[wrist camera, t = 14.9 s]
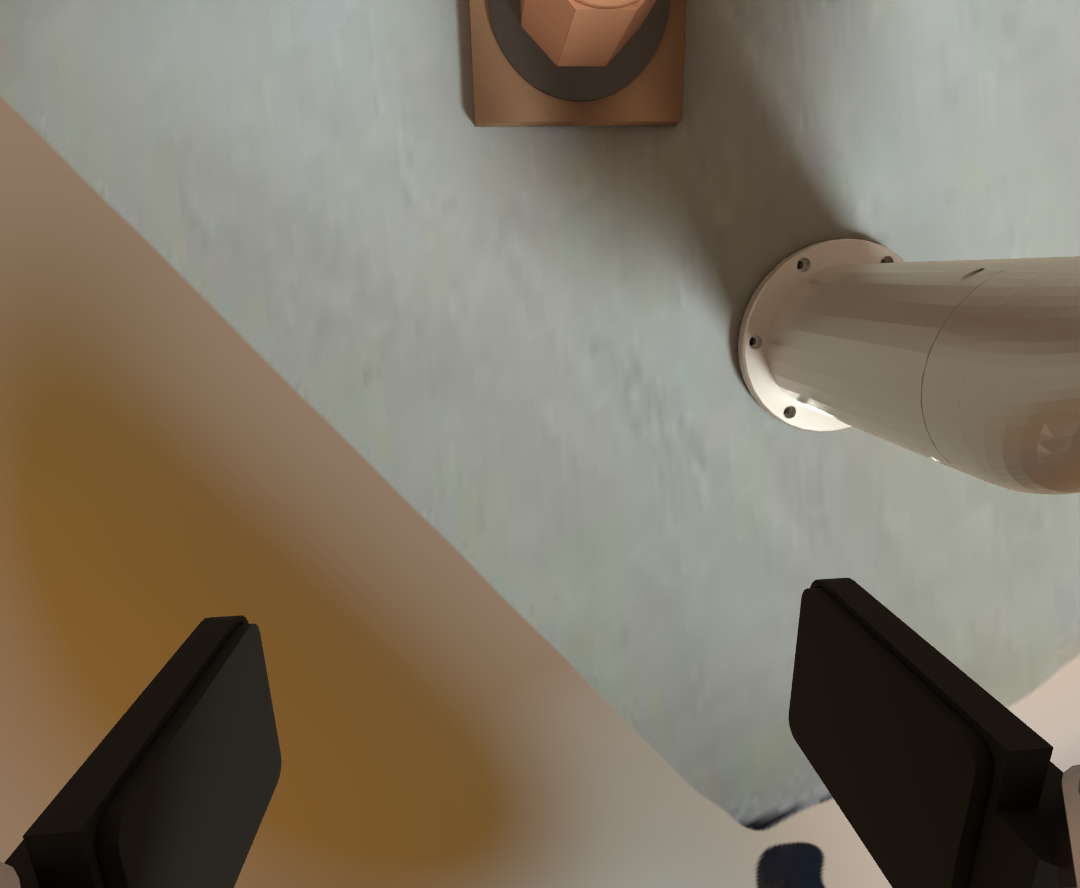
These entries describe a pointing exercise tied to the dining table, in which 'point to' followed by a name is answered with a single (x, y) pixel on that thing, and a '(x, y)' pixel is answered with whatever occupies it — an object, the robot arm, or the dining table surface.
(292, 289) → the dining table surface
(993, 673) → the dining table surface
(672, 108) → the board
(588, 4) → the orange cylinder peg
